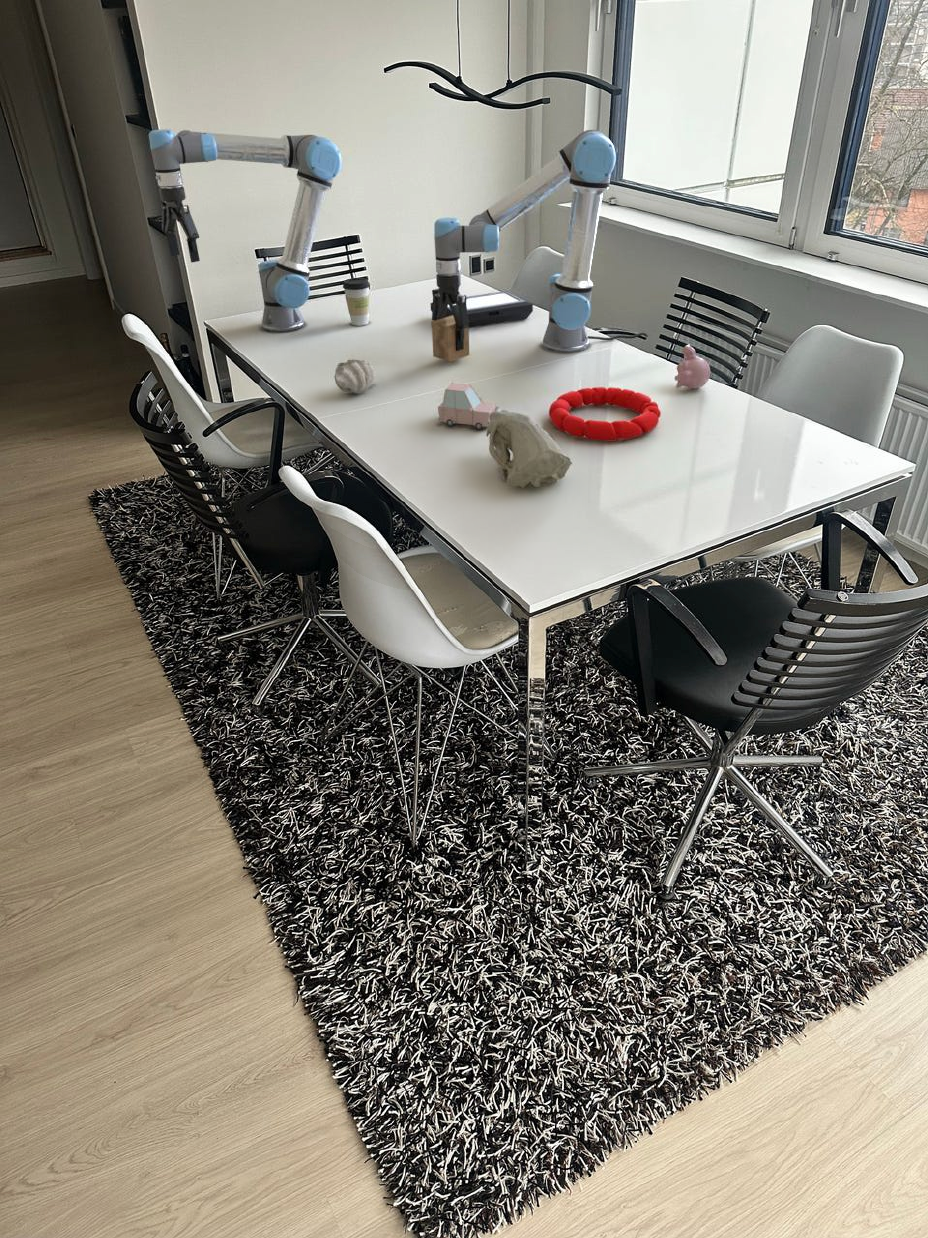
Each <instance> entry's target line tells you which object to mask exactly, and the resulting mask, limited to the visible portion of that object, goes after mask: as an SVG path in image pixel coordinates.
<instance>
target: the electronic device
mask: <svg viewBox="0 0 928 1238" xmlns="http://www.w3.org/2000/svg"><path fill="white" fill-rule="evenodd" d="M454 305H456V304H454ZM466 306H467V314H468V320H469V329H471V328H476V327H483V326H489V325H496V324H501V323H507V322H515V321H521V320H526V319H528V318H529V317H530V315H531V314H532V313H533V311H534V304H533V303H532V302H529V300H526V299H523V298H521V297H520V296H518V295H516V294H515V293H512V292H510V291H508V290H503V291H496V292H489V293H483V294H477V295H468V296H467V300H466ZM432 307H433V302H430V311H431V312H432ZM452 315H453V313H452V309H450V307H449V305H448V306H447V310H446V314H445V317H449V316H452Z"/></svg>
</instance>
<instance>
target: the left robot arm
mask: <svg viewBox="0 0 928 1238" xmlns="http://www.w3.org/2000/svg"><path fill="white" fill-rule="evenodd" d="M148 139H149V146H150V147H149V148H150V152H151V155H152V156H151V157H152V162H153V166H154V170H155V175H156V176H155V179H156V180H157V185H158V187H159V189H158V192H159V197H160V200H161V202H160V206H161V231H162V232H164V233H165V235H166V238H167V239H166V240H167V243H168V249H169V253H170V256H171V257H175V256H180V251H179V245H178V240H177V235H176V231H175V227H176V222H178V223H179V224H180V227H181V228H182V230H183V232H184V234H185V236H186V239H185V240H186V243H187V249H188V254H189V259H190V263H191V264H192V263H196V262H200V255H199V249H198V244H197V239H200V234H199V232H198V229H197V226H196V224H195V222H194V219H193V217H192V214H191V211H190V206H189V205H188V204H185V205H184V203H183V201H185V200H186V198H187V196H186V191H185V187H184V186H183V184H184V180H183V175H182V174H183V173H182V170H181V166H180V165H185V164H194V163H197V164H198V163H210V162H215V161H216V160H220V161H233V162H234V161H235V162H246V163H247V162H251V163H263V164H274V165H275V164H276V165H281V166H283V168H285V169H286V168H288V169H295V170H297V172H296V178H297V180H298V183H299V185H298V189H297V194H296V197H295V202H294V206H293V210H292V215H291V219H290V223H289V227H288V232H287V236H286V239H285V245H284V248H283V253H282V257H280V258H279V259H271V260H265V261H260V263H259V264H258V275H259V279H260V287H261V292H262V293H261V294H262V299H263V313H262V319H261V326H262V330H264V331H265V332H271V333H286V332H293V331H296V330H297V331H298V330H300V329H302V328H304V326H305V319H304V317H303V314H302V312H301V310H300V307H302V306H303V305H305V304H306V302H307V301H308V299H309V297H310V293H311V291H310V285H309V278H310V274H311V270H310V268H309V267H308V266H309V264H308V263H309V259H310V255H311V251H312V248H313V243H314V240H315V235H316V231H317V227H318V223H319V219H320V214H321V210H322V206H323V203H324V198H325V195H326V192H327V191H329V190H331V189H332V186H333V183H334V178H336V177H337V176H338V174H339V173H340V172H341V169H342V163H343V162H342V161H343V160H342V154H341V152H340V150H339V147H337V145H336V144H335V143H334V142H333V141H332V140H330V139H328V138H326V137H322V136H317V135H315V134H302V135H301V134H300V135H287V134H284V135H282V136H281V137H269V136H255V135H242V134H231V133H230V134H229V133H228V134H227V133H215V132H201V131H191V130H188V129H183V130H180V131H179V132H177V133H176V135H175V133H174V131H173V130H172V129H170V128H169V129H168V128H166V129H154V130H151V131H149V133H148Z"/></svg>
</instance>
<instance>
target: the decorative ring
mask: <svg viewBox="0 0 928 1238" xmlns="http://www.w3.org/2000/svg"><path fill="white" fill-rule="evenodd" d="M583 405H584V406H586V407H587V406H591V405H593V406H604V405H608V406H614V407H619V408H624V409H628V410H632V411H635V412H636V413H638V414H639V415H637V416H635V417H632V418H631V419H630V420H625V419H624V420H623V419H622V420H614V421H611V422H609V421H607V420H606V421H605V420H593V419H587V420H586V421H585V419H584V418H582V417H579V416H577V415H573V414H571V413H570V410H571V409H579V408H581V407H582V406H583ZM548 416H549V419H550V422H551V423H552V425H553V426H554V427H555V428H556V429H558V430H559V431H561V432H563V433H567V434H568V435H569V436H573V437H576V438H580V439H582V438H583V437H585V438H586V439H587V440H591V441H601V442H602V441H603V442H608V441H609V442H610V441H611V442H612V441H615V442H616V441H618V440H630V439H634V438H638V437H641V436H642V434H647V433H650V432H651V431H653V430H654V429H655V428H656V427H657V426H658V424H659V422H660V421H659V420H660V417H661V410H660V408H659V405H658V403H657V402H656V401H652V399H651V397H649V396H648V395H646V394H644V393H642V392H635V391H634V390H632V389H628V388H624V389H622V388H620V387H613V386H612V387H611V386H610V387H608V388H606V387H604V386H594V387H585V388H584V387H583V388H580V389H578V390H571V391H568V392H565V393H563V394H561V395H560V396H558V397H557V398H556V400H554V401H552V403H551V404H550V407H549V409H548Z"/></svg>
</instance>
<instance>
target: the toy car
mask: <svg viewBox="0 0 928 1238" xmlns="http://www.w3.org/2000/svg"><path fill="white" fill-rule="evenodd" d="M498 409H499V404H498V403H497V402H490V401H489V402H487V401H483V397H481V396H480V395H479V394H478V393H477V391H476V390H475V389H474V386H472V384H469V383H459V382H451V383H450V384H449V385H448V386H447V387H446V388H445V389H444V394H443V399H442V403H440V404H439V405H438V406H437V413H438V421H439V422H443V423H446V425H447V426H448V427H452V426H454V425H455V424H461V425H469V426H473V427H475V429H476V430H479V431H480V430H481V429H483V428H485V427H486V428H487V423H488V422H490V414H491V413H492V412H496V411H499V410H498Z"/></svg>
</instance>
